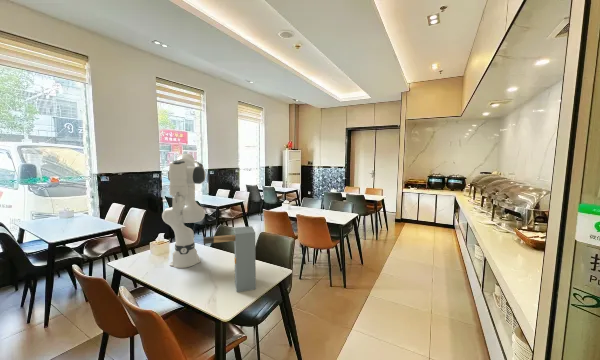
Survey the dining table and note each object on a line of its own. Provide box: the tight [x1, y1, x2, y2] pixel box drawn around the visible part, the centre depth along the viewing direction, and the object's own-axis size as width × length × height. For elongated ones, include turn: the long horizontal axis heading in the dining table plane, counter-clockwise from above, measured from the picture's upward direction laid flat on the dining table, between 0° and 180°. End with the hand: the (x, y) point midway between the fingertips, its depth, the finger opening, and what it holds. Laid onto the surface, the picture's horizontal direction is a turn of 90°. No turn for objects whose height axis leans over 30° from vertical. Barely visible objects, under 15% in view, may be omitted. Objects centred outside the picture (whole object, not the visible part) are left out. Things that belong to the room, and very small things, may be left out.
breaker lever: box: [202, 234, 235, 245], centre depth 130 cm, size 3×16×3 cm, turn 109°
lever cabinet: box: [233, 226, 257, 293], centre depth 135 cm, size 13×11×31 cm
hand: (179, 217), depth 130 cm, fingers open, 8 cm apart
